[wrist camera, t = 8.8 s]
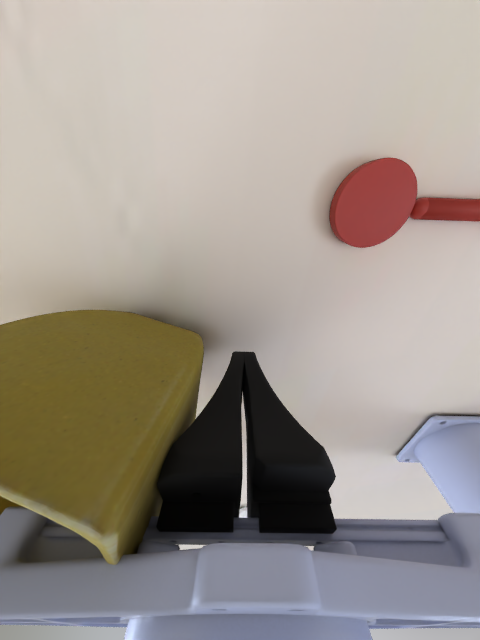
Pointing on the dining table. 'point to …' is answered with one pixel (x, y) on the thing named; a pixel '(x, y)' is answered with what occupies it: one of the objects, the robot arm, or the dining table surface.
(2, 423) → the flower pot
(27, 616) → the robot arm
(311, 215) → the dining table surface
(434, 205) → the red spoon
